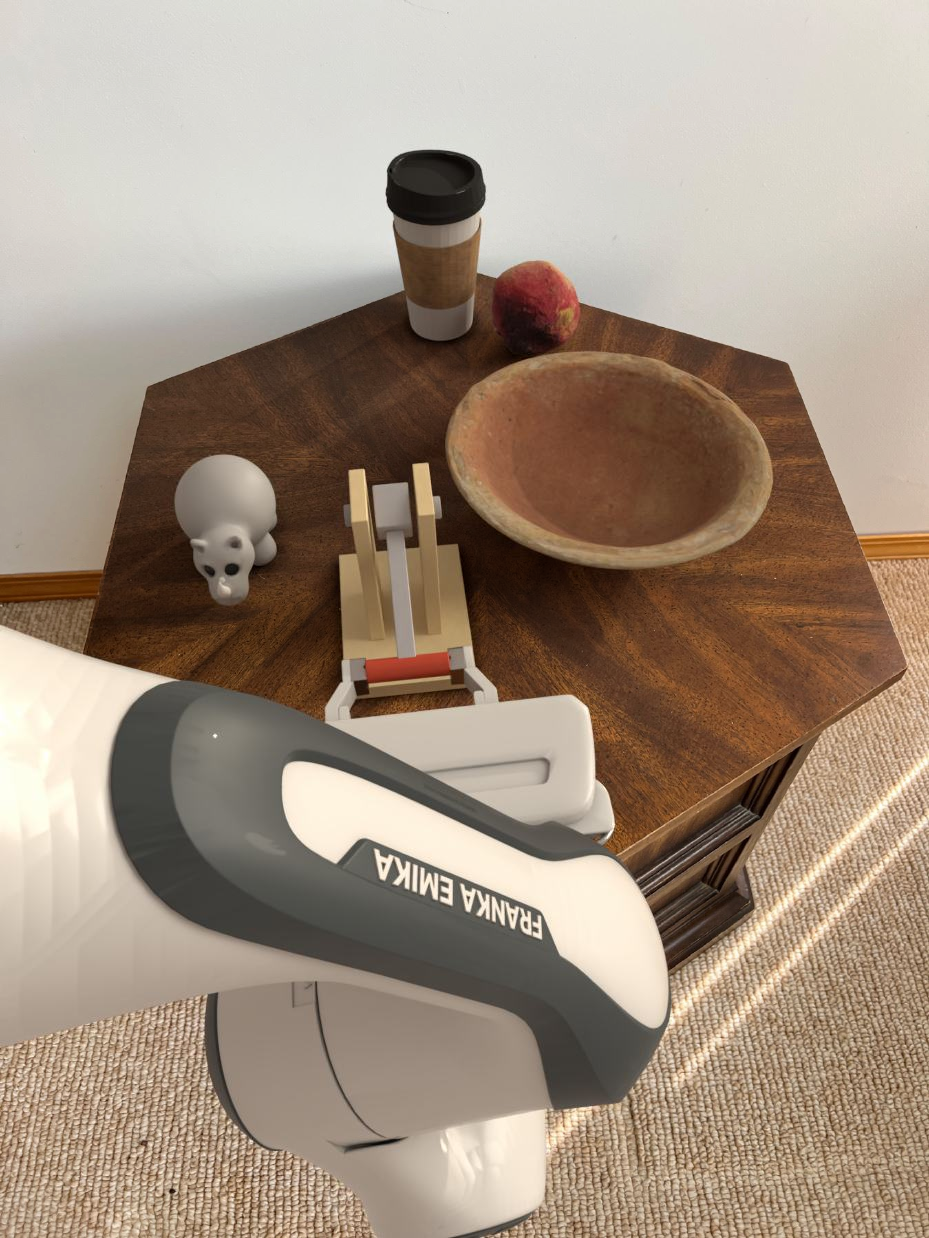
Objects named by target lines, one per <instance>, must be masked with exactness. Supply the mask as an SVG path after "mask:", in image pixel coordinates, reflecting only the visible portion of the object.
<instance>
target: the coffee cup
mask: <svg viewBox="0 0 929 1238" xmlns="http://www.w3.org/2000/svg"><path fill="white" fill-rule="evenodd" d="M483 174H484V173H483V169H482V167H481V165H480V163H479V162H478V161H477V160H475V159H474V158H473V157H471V156H469V155H467V154H464V153H461V152H458V151H453V150H445V149H416V150H411V151H405V152H402V153H400V154H398V155H396V156H394V158H393V159H392V160H391V161H390V162H389V164H388V166H387V168H386V187H385V193H384V194H385V197H386V206H387V208H388V209H389V210H390V212H391V213H392V217H393V220H392V231H393V235H394V241H395V246H396V252H397V256H398V263H399V268H400V269H399V270H400V274H401V279H402V284H403V289H404V294H405V298H406V299H405V300H406V304H407V305H406V306H407V311H408V317H409V323H410V326H411V329H412V330H413V331H414V332H415V333H416V335H418V336H420V337H421V338H424V339H426V340H431V341H436V342H437V341H438V342H440V341H451V340H455V339H456V338H460V337H461V336H463V335H465V334H466V333H468V331H469V330H470V329H471V327H472V325H473V318H474V307H475V304H474V303H475V291H476V287H477V286H476V285H477V275H478V265H479V254H480V245H481V233H482V226H483V225H482V224H483V223H482V222H483V221H482V217H481V209H482V208H483V207H484V205H485V203H486V200H487V199H486V198H487V197H486V193H487V187H486V183H485V180H484V175H483Z"/></svg>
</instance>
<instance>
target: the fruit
mask: <svg viewBox="0 0 929 1238" xmlns="http://www.w3.org/2000/svg"><path fill="white" fill-rule="evenodd" d="M492 290H493V291H492V293H493V294H492V300H491V301H492V302H491V315H492V323H493V327H492V329H493V331H494V333H496V334H497V335H498V336H500V337H502V339H503V342H504V344H505V345H506V346H507V348H508V350H509V352H511V353H512V354H516V355H519V356H527V357H535V356H537V355H540V354H544V353H548V352H551V351H552V350H554V349H556V348H558V347H561V346H562V345H564V344H565V343H566V342H568V341H569V340H570V339H571V338H572V336H573V335H574V333H575V332H576V330H577V328H578V325H579V321H580V316H581V308H580V307H581V306H580V302H579V297H578V294H577V290H576V288H575V285H574V283H573V282H572V281H571V280H570V279H569V278H568V277H567V275H565V274H564V272H563V271H562V270H561V269H559V268H558V267H557V266H556V265H554V264H552V263H551V262H549V261H546V260H541V259H540V260H537V259H536V260H527V261H523V262H521V263H519V264H516V265H514V266H512V267H509V268H507V269H506V270H504V271H503V272H501V274H500V275H499V276H497V278H496V280H495V282H494V285H493V289H492Z"/></svg>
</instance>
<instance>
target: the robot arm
mask: <svg viewBox="0 0 929 1238" xmlns="http://www.w3.org/2000/svg"><path fill="white" fill-rule="evenodd" d="M447 652H448V654H449V661H450V681H451V685H458V684H464V685H465V686H466V687H467V688H466V689H467V690H468V691H469V692H470V694H472V696H473V704H471V705H463V706H454V707H445V708H436V709H427V710H418V711H410V712H402V713H401V712H399V713H391V714H383V715H382V714H381V715H374V716H365V717H357V718H352V716H351V712H350V711H351V708H352V707H353V705H354V703H355V701H356V700H357V699H356V697H357V696H361V695H368V694H370V689H369V684H368V682H367V677H366V670H365V660H366V658H357V659H346V660H343V659H341V679H342V682H339V684H338V686H337V687H336V689H335V690H334V692H333V694H332V695H331V696H330V699H329V700H328V702H327V703H326V705H325V707H324V721H323V720H320V719H319V718H316V717H314V716H312V715H310V714H307V713H305V712H303V711H300V710H298V709H296V708H293V707H290V706H288V705H285V704H283V703H279V702H278V701H274V700H271V699H269V698H265V697H261V696H259V695H254V694H250V693H246V692H242V691H237V690H233V689H229V688H226V687H222V686H216V685H213V684H208V683H205V682H200V681H194V680H180V679H176V678H173V677H170V676H169V677H168V676H165V675H161V674H158V673H153V672H149V671H145V670H141V669H137V668H133V667H129V666H125V665H122V664H117V663H114V662H110V661H107V660H103V659H99V658H96V657H93V656H90V655H86V654H83V653H79V652H76V651H74V650H70V649H67V648H65V647H62V646H59V645H56V644H53V643H51V642H47V641H46V640H42V639H40V638H37V637H35V636H31V635H29V634H26V633H24V632H21V631H18V630H15V629H13V628H11V627H7V626H5V625H2V624H0V1049H2V1048H6V1047H9V1046H12V1045H13V1046H14V1045H17V1044H20V1043H24V1042H28V1041H30V1040H35V1039H38V1038H43V1037H45V1036H48V1035H49V1036H50V1035H53V1034H56V1033H60V1032H64V1031H67V1030H70V1029H74V1028H78V1027H82V1026H85V1025H89V1024H92V1023H93V1024H94V1023H97V1022H101V1021H104V1020H108V1019H112V1018H115V1017H119V1016H123V1015H126V1014H130V1013H131V1014H132V1013H134V1012H138V1011H141V1010H147V1009H151V1008H155V1007H159V1006H162V1005H166V1004H167V1005H168V1004H171V1003H175V1002H180V1001H184V1000H188V999H192V998H197V997H201V996H206V995H207V996H206V1003H205V1013H204V1050H205V1058H206V1059H205V1060H206V1065H207V1069H208V1075H209V1077H210V1081H211V1084H212V1087H213V1089H214V1092H215V1095H216V1097H217V1099H218V1101H219V1103H220V1105H221V1107H222V1108H223V1110H224V1112H225V1113H226V1114H227V1116H228V1118H229V1119H230V1120H231V1122H232V1123H233V1124H234V1125H235V1126H236V1127H237V1128H238V1129H239V1130H240V1131H241V1132H242V1133H243V1134H244V1135H245V1136H246V1137H247V1138H249V1140H251V1141H252V1142H253V1143H255V1144H256V1145H257V1146H259V1147H261V1148H263V1149H265V1150H267V1151H271V1152H282V1151H285V1152H288V1153H290V1154H292V1155H294V1156H296V1157H298V1158H300V1159H302V1160H304V1161H306V1162H308V1163H310V1164H312V1165H314V1166H315V1167H318V1168H319V1169H321V1170H323V1171H324V1172H326V1173H327V1174H329V1175H330V1176H332V1177H333V1178H334V1179H335V1180H337V1181H338V1182H340V1183H341V1184H343V1185H344V1186H345V1187H346V1188H348V1189H349V1190H350V1191H351V1192H352V1193H353V1194H354V1196H356V1197H357V1199H358V1200H359V1201H360V1203H361V1205H362V1207H363V1209H364V1212H365V1215H366V1217H367V1221H368V1223H369V1226H370V1228H371V1229H372V1230H371V1231H372V1232H373V1234H374V1236H375V1237H376V1238H485V1237H488V1236H495V1235H498V1234H501V1233H504V1232H506V1231H509V1230H511V1229H514V1228H516V1227H517V1226H519V1225H521V1224H523V1223H524V1222H525V1221H527V1220H528V1219H530V1217H531V1216H532V1215H533V1214H534V1212H535V1211H537V1210H538V1209H539V1208H540V1207H541V1205H542V1204H543V1202H544V1199H545V1193H546V1185H547V1126H546V1125H547V1124H546V1110H548V1109H553V1111H563V1110H572V1109H581V1108H588V1107H589V1108H590V1107H598V1106H607V1105H615V1104H620V1103H621V1102H623V1100H625V1098H626V1097H627V1096H628V1094H629V1093H630V1091H631V1090H632V1089H633V1087H634V1086H635V1085H636V1083H637V1082H638V1080H639V1079H640V1077H641V1076H642V1074H643V1073H644V1071H645V1070H646V1068H647V1067H648V1065H649V1064H650V1062H651V1060H652V1059H653V1056H655V1053H656V1051H657V1049H658V1048H659V1045H660V1043H661V1041H662V1040H663V1037H664V1035H665V1032H666V1031H667V1028H668V1026H669V1022H670V1018H671V1012H672V988H671V980H670V972H669V966H668V961H667V956H666V954H665V949H664V945H663V941H662V938H661V934H660V931H659V927H658V926H657V925H658V924H657V922H656V919H655V917H654V915H653V912H652V910H651V908H650V905H649V903H648V901H647V899H646V897H645V895H644V893H643V891H642V889H641V887H640V886H639V883H638V882H637V880H636V878H635V877H634V875H633V873H632V872H631V871H630V870H629V868H628V867H627V866H626V864H625V863H624V862H623V861H622V860H621V859H620V858H619V857H618V856H617V855H616V854H615V853H613V852H612V851H611V850H609V849H608V848H607V847H605V846H604V845H606V844H607V843H608V842H609V841H610V839H611V838H612V837H613V834H614V833H615V828H616V817H615V812H614V808H613V803H612V799H611V796H610V793H609V791H608V789H607V788H606V787H605V785H604V784H602V783H601V782H600V781H599V780H598V779H596V753H595V741H594V731H593V725H592V719H591V714H590V710H589V708H588V706H587V705H586V704H585V703H584V702H582V701H581V700H580V699H579V698H577V697H576V696H575V695H574V694H570V693H569V694H558V695H550V696H541V697H533V698H532V697H531V698H523V699H514V700H507V701H506V700H505V701H499V696H498V690H497V689H498V688H497V687H496V686H495V685H494V684H493V683H492V682H491V681H490V680H489V679H488V678H487V677H486V676H485V675H484V674H483V673H482V671H481V670H480V669H479V668H478V667H476V666H475V668H474V662H473V655H472V649H471V646H462V647H454V648H447ZM595 838H596V840H594V839H595ZM597 838H598V839H597Z"/></svg>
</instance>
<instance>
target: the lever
mask: <svg viewBox="0 0 929 1238" xmlns="http://www.w3.org/2000/svg"><path fill="white" fill-rule="evenodd" d="M371 490H372V500H373V509H374V511H373V512H374V521H375V530H376V534H377V539H378V541H383V540H385V541H386V547H387V549H386V551H388V561H389V572H390V582H391V593H392V604H393V614H394V625H395V635H396V646H397V657H390V658H380V659H370V660H365V670H366V677H367V682H368V684H372V683H382V682H392V681H401V680H411V679H421V678H430V677H440V676H449V675H450V661H449V654H448V652H439V653H430V654H420V655H416V651H415V641H414V630H413V620H412V610H411V600H410V590H409V580H408V570H407V560H406V550H405V549H406V539H405V538H412V537H413V536H414V533H413V521H412V512H411V511H412V510H411V501H410V492H409V491H410V490H409V483H408V482H396V483H395V482H394V483H385V484H375V485H372V489H371Z"/></svg>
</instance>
